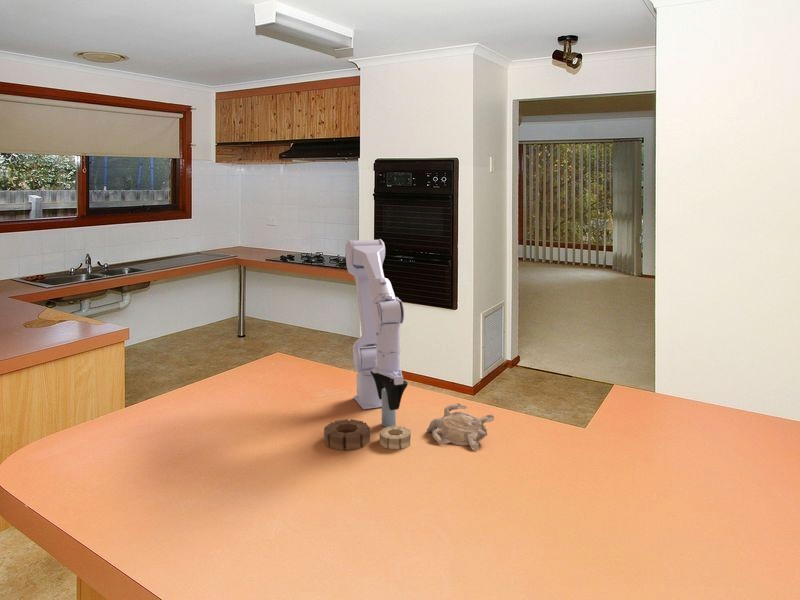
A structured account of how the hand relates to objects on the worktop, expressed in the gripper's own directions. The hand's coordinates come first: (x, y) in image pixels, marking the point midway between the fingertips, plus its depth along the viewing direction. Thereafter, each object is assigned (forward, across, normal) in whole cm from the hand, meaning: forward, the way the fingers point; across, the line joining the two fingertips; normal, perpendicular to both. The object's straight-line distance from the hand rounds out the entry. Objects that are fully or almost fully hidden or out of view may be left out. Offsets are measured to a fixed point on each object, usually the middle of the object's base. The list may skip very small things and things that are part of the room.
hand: (388, 403), depth 146 cm
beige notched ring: (+6, +10, -2) cm, 12 cm away
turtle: (+6, +14, +13) cm, 19 cm away
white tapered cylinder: (+6, 0, 0) cm, 6 cm away
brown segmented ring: (+6, +5, -12) cm, 14 cm away
